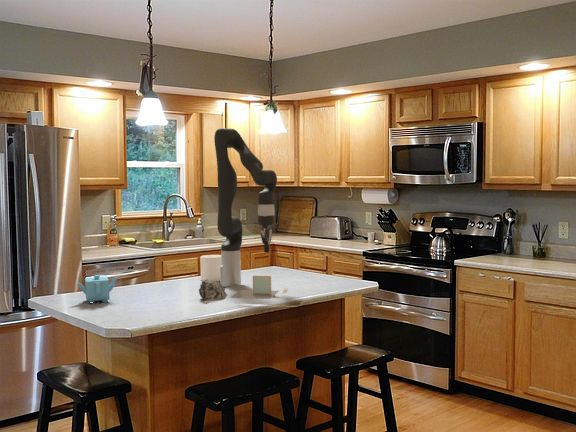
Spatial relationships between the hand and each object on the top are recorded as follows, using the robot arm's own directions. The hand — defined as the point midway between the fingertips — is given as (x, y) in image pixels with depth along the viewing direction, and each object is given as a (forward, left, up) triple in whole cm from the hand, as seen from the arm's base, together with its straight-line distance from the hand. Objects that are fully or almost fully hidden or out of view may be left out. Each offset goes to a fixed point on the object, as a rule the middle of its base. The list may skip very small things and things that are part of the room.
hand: (266, 252), depth 291 cm
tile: (0, -10, -17) cm, 20 cm away
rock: (-19, -19, -19) cm, 33 cm away
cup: (-36, +29, -18) cm, 50 cm away
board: (-3, -11, -18) cm, 21 cm away
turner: (+9, -5, -18) cm, 21 cm away
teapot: (-67, -31, -18) cm, 76 cm away
